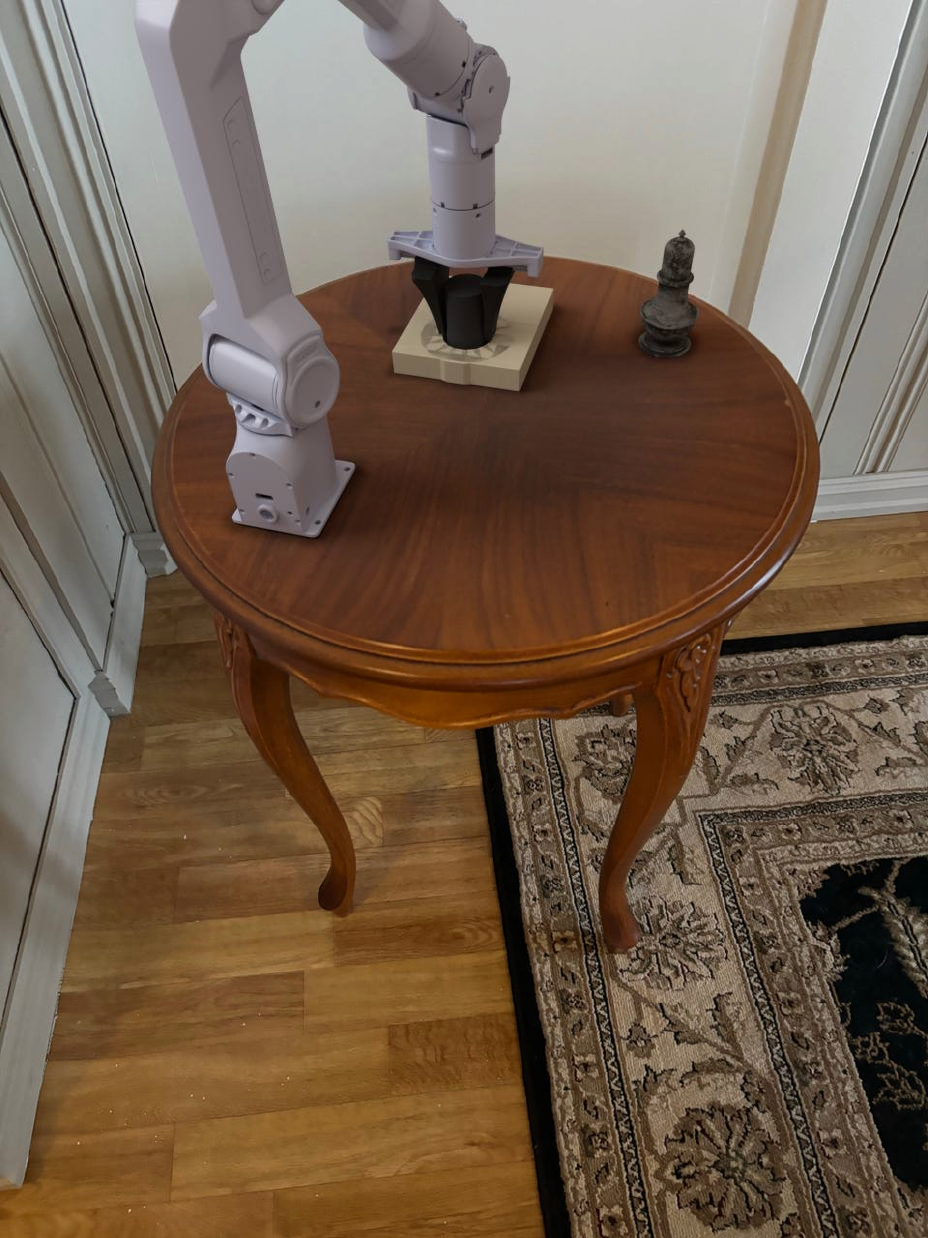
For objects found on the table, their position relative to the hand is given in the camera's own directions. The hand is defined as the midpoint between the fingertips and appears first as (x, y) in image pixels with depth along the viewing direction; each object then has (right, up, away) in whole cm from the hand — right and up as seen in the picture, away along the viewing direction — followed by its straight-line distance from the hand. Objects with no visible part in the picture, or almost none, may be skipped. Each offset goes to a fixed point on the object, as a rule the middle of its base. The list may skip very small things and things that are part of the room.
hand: (467, 331), depth 89 cm
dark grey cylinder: (0, -1, +1) cm, 2 cm away
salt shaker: (+20, 0, +3) cm, 20 cm away
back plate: (+1, 0, +4) cm, 4 cm away
